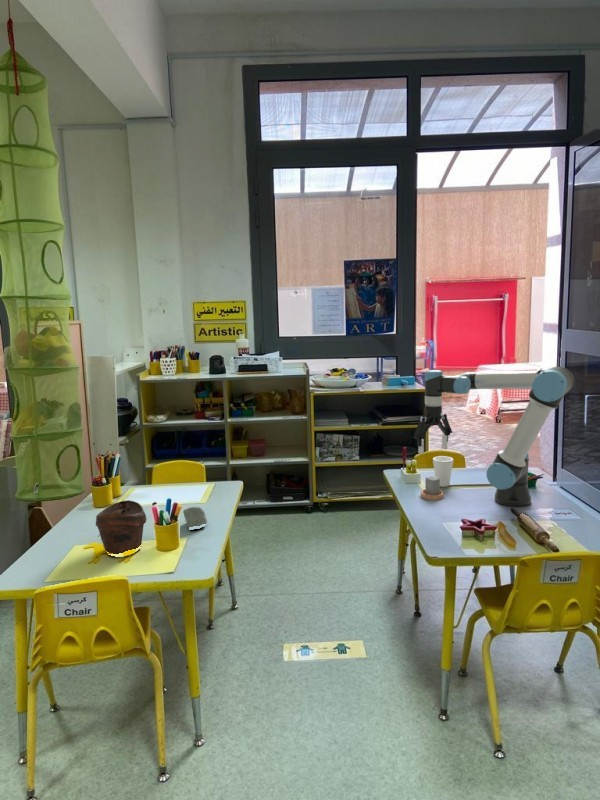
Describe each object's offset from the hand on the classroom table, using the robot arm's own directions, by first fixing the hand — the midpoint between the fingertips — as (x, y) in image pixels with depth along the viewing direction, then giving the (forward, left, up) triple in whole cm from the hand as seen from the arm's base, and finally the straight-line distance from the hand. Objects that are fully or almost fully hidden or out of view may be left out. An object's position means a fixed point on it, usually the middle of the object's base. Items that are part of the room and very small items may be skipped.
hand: (432, 451), depth 252 cm
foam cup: (+10, -15, -22) cm, 28 cm away
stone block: (0, 0, -21) cm, 21 cm away
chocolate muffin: (+15, +135, -22) cm, 138 cm away
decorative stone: (+23, +105, -22) cm, 109 cm away
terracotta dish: (0, 0, -21) cm, 21 cm away
